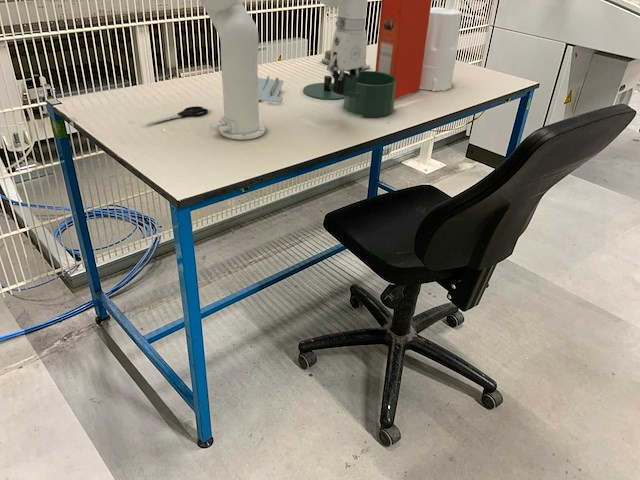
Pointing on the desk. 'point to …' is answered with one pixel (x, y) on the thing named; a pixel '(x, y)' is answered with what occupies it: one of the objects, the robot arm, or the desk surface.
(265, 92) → the metal bracket
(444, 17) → the white cylindrical canister
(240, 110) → the robot arm
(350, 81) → the mount
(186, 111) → the scissors
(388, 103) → the pot
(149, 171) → the desk surface
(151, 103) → the desk surface
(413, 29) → the file binder
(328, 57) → the packaged product
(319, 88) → the lid
